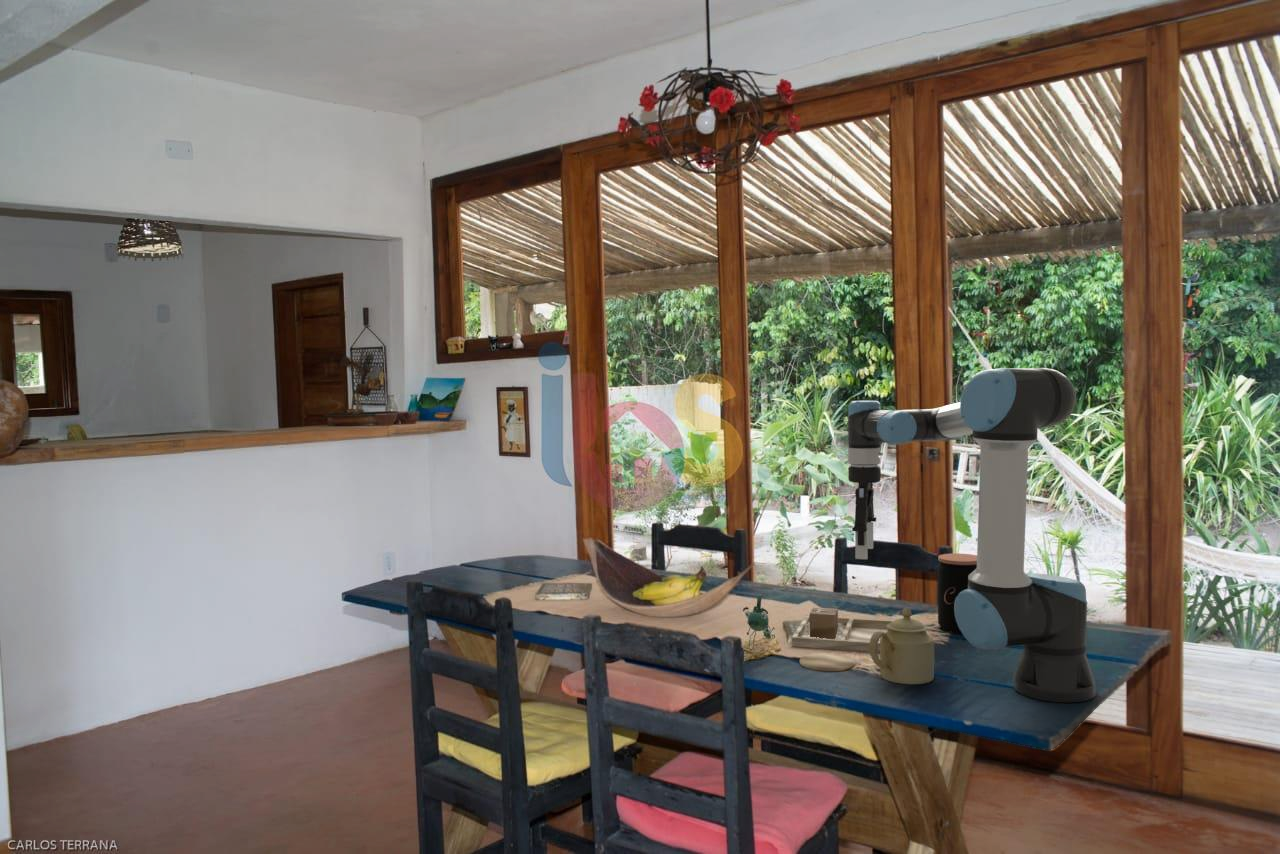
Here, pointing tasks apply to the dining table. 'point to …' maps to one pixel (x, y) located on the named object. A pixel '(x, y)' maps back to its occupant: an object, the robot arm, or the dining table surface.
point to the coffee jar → (952, 586)
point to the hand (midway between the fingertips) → (864, 553)
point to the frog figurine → (759, 623)
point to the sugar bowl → (904, 651)
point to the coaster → (827, 662)
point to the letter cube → (823, 623)
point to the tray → (844, 635)
